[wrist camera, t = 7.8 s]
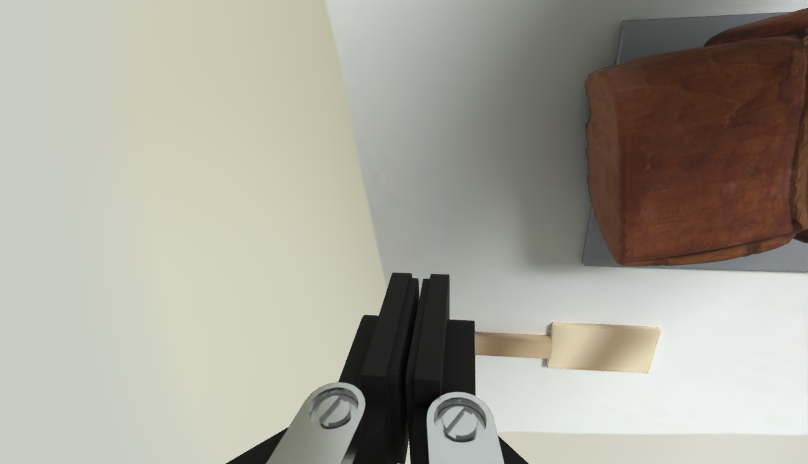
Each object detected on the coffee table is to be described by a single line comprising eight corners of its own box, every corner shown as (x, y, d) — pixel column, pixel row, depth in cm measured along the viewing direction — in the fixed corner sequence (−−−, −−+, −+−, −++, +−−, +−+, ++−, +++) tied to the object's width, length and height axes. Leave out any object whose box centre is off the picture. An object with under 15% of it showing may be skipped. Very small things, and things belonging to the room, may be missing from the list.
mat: (622, 20, 23) (626, 20, 23) (1019, 0, 21) (1034, -1, 20) (582, 261, 30) (584, 265, 30) (874, 269, 28) (882, 273, 27)
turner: (430, 356, 36) (430, 364, 35) (430, 317, 34) (429, 324, 34) (645, 367, 34) (650, 376, 33) (657, 326, 32) (662, 334, 31)
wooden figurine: (590, 239, 28) (897, 187, 25) (626, 286, 23) (1034, 226, 19) (575, 61, 24) (943, -30, 21) (615, 62, 18) (1135, -65, 15)
